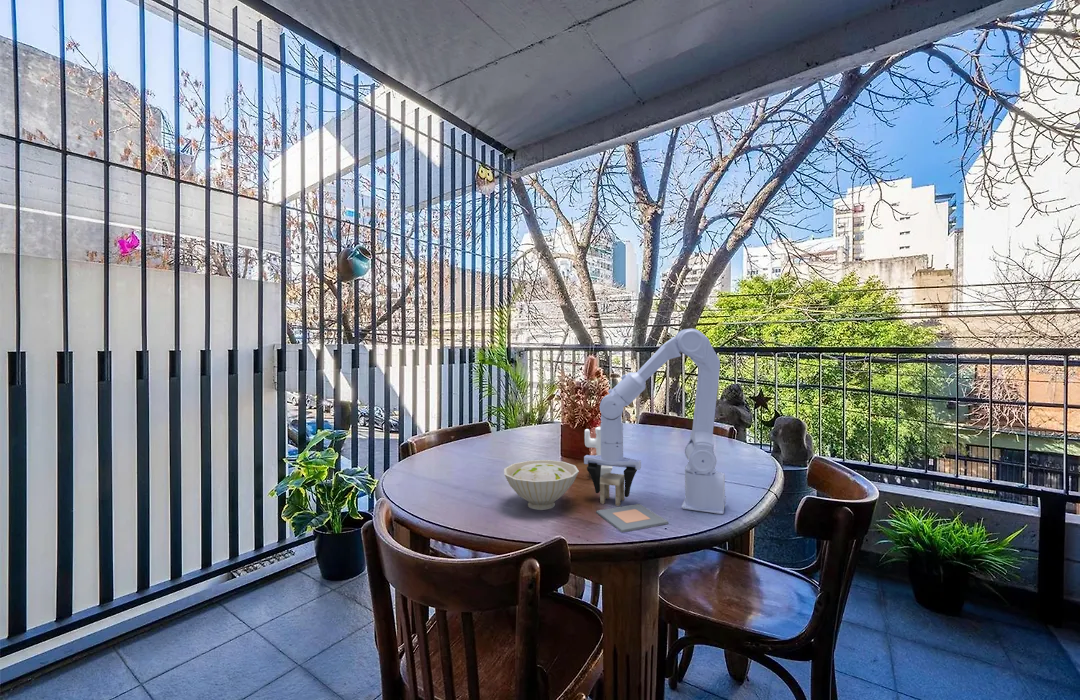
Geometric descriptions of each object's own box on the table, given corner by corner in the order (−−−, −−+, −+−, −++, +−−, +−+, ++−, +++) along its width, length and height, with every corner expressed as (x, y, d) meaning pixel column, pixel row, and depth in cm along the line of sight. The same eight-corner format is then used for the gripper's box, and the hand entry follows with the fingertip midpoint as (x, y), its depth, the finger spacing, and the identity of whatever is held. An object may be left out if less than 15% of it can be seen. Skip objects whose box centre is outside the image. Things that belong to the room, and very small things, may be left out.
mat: (639, 505, 115) (639, 503, 115) (668, 523, 103) (668, 521, 103) (596, 512, 110) (596, 510, 110) (621, 532, 99) (621, 529, 99)
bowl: (494, 497, 122) (493, 460, 122) (561, 488, 129) (560, 452, 129) (517, 525, 104) (516, 481, 104) (593, 512, 111) (592, 471, 111)
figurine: (616, 480, 135) (615, 430, 134) (584, 479, 136) (583, 429, 136) (616, 473, 142) (615, 425, 141) (585, 472, 143) (585, 424, 143)
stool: (624, 499, 119) (624, 474, 119) (619, 505, 115) (619, 480, 115) (605, 496, 121) (605, 472, 121) (600, 503, 117) (599, 477, 117)
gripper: (643, 440, 118) (643, 492, 119) (589, 436, 124) (590, 485, 125) (637, 446, 112) (637, 501, 112) (581, 441, 118) (581, 494, 118)
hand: (612, 493), depth 118 cm, fingers open, 7 cm apart
